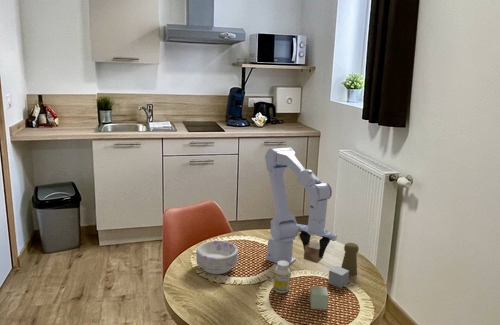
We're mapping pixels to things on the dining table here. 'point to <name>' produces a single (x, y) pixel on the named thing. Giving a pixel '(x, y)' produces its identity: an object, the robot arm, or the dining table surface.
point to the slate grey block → (338, 276)
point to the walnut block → (312, 252)
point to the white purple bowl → (217, 256)
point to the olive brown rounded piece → (350, 258)
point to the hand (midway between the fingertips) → (313, 254)
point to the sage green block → (319, 298)
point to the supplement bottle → (282, 277)
